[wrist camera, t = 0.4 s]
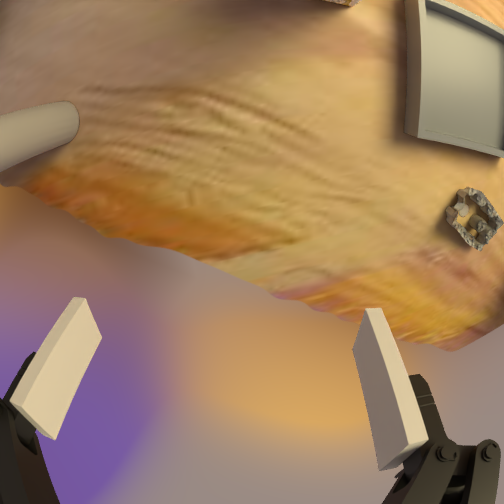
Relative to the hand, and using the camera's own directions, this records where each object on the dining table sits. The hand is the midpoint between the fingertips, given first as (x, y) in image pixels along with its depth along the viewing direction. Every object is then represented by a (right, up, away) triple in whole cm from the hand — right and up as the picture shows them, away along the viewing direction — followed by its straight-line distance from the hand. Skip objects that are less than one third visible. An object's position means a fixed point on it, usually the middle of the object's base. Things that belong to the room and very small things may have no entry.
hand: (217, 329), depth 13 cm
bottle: (-26, +22, +20) cm, 39 cm away
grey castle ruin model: (+36, +10, +25) cm, 45 cm away
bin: (+31, +28, +14) cm, 44 cm away
